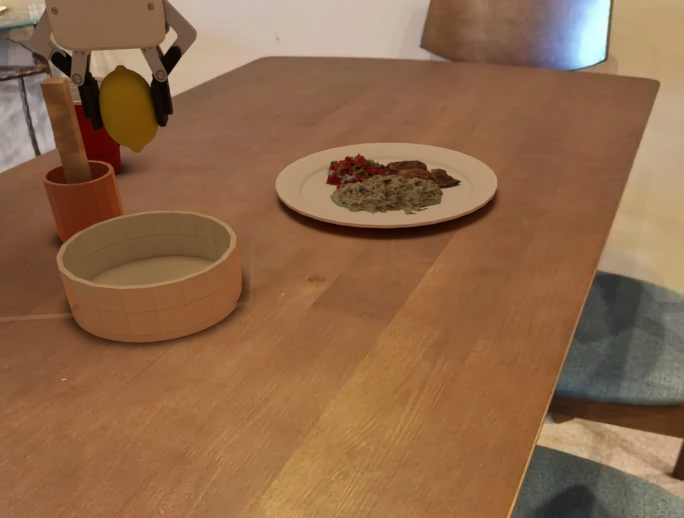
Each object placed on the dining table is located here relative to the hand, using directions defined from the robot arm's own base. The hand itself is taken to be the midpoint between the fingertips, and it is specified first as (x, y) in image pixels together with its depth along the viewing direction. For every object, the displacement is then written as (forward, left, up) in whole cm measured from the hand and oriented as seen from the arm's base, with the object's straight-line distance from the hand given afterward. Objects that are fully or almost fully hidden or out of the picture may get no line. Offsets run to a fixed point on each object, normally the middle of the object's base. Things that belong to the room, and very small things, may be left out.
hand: (131, 122), depth 71 cm
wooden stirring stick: (-10, +13, -16) cm, 23 cm away
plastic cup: (-13, +36, -17) cm, 41 cm away
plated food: (+28, +22, -17) cm, 39 cm away
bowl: (0, -4, -17) cm, 17 cm away
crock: (-10, +13, -17) cm, 23 cm away
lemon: (0, 0, -3) cm, 3 cm away
